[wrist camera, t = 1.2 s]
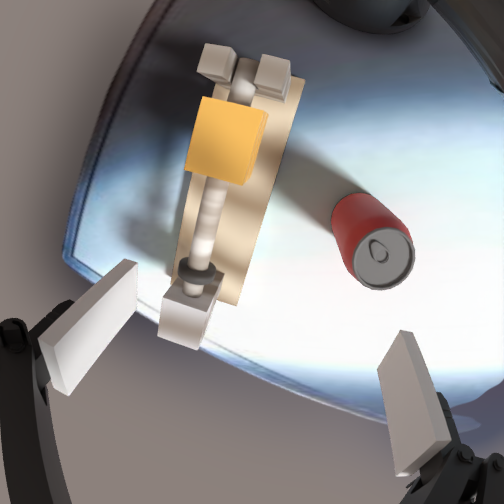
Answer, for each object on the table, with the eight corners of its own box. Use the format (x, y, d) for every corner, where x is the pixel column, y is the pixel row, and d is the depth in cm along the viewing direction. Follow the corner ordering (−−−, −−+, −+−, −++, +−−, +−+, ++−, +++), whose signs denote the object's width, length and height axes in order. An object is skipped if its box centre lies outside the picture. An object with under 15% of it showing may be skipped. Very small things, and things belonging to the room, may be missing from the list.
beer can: (364, 180, 32) (397, 204, 21) (394, 225, 34) (432, 267, 23) (319, 214, 35) (330, 253, 24) (350, 256, 36) (371, 309, 25)
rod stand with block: (225, 62, 29) (192, 32, 18) (304, 82, 29) (310, 56, 18) (174, 279, 40) (135, 331, 29) (238, 300, 40) (218, 360, 29)
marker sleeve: (217, 101, 25) (202, 96, 21) (268, 114, 25) (263, 110, 21) (201, 163, 28) (183, 169, 23) (250, 176, 28) (242, 186, 23)
